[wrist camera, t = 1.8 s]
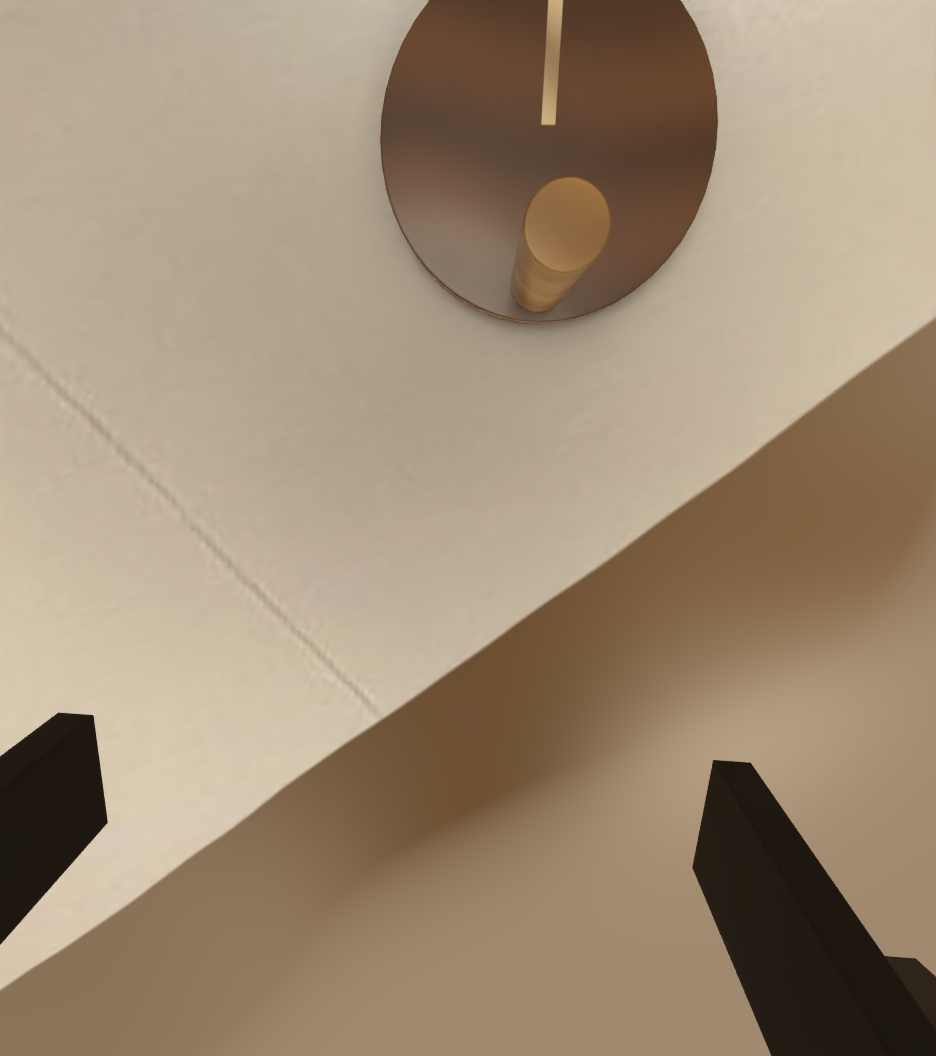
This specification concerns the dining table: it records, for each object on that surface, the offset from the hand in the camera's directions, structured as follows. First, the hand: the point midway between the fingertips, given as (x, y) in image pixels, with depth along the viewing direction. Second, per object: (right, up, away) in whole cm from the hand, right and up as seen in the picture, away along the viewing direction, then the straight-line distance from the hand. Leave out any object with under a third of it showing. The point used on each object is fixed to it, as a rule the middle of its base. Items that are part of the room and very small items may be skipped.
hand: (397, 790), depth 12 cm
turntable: (+6, +25, +17) cm, 31 cm away
